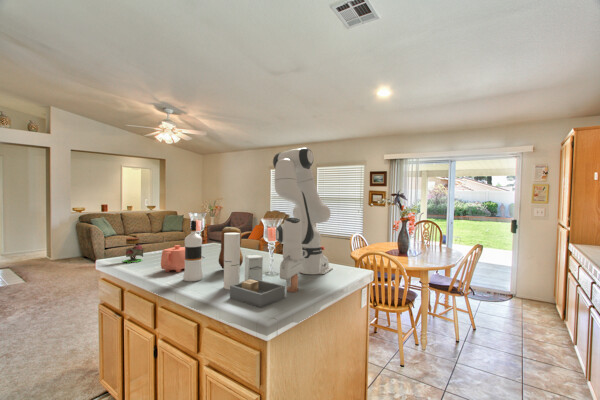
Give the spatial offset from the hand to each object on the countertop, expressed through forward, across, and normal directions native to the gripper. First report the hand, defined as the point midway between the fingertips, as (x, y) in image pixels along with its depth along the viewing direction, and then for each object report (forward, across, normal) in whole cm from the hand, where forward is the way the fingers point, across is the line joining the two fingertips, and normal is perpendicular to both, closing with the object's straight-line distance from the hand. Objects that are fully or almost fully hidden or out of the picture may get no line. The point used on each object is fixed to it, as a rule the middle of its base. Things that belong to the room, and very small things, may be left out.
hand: (292, 284), depth 131 cm
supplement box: (+3, +6, +23) cm, 24 cm away
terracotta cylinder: (+3, 0, 0) cm, 3 cm away
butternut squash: (+3, +19, +46) cm, 50 cm away
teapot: (+3, +9, +75) cm, 76 cm away
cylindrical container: (+3, -7, +28) cm, 29 cm away
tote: (+3, -15, +9) cm, 18 cm away
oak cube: (+2, -14, +14) cm, 19 cm away
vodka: (+3, -4, +53) cm, 53 cm away
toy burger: (+3, +14, +118) cm, 118 cm away
